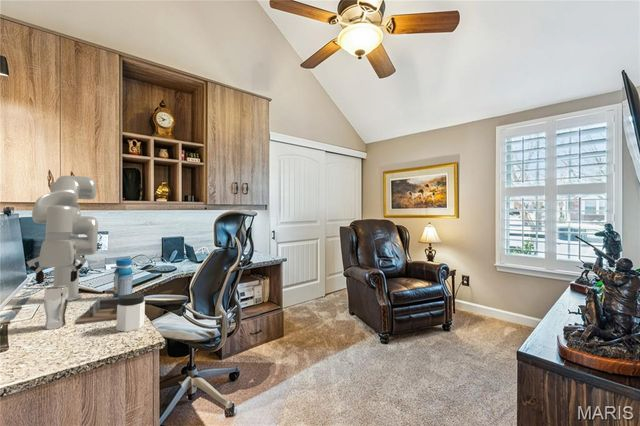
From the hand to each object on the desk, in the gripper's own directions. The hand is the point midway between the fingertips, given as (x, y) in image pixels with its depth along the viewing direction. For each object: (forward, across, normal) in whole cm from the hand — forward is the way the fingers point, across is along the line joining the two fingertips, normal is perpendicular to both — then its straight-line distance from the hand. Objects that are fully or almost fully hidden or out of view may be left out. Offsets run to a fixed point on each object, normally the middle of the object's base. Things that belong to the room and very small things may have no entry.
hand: (57, 282), depth 108 cm
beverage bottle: (+16, -15, -40) cm, 46 cm away
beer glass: (+17, 0, -1) cm, 17 cm away
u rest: (+17, -15, -11) cm, 25 cm away
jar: (+18, -26, +11) cm, 33 cm away
